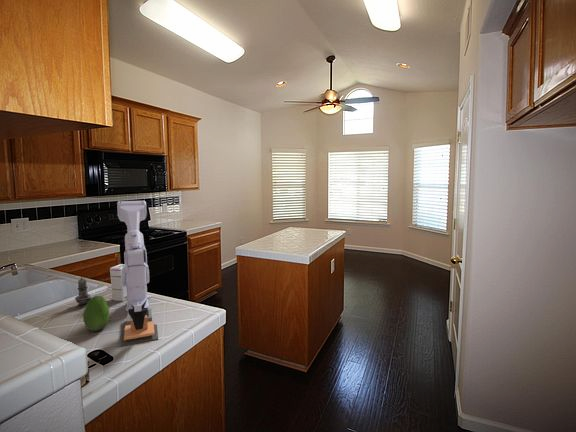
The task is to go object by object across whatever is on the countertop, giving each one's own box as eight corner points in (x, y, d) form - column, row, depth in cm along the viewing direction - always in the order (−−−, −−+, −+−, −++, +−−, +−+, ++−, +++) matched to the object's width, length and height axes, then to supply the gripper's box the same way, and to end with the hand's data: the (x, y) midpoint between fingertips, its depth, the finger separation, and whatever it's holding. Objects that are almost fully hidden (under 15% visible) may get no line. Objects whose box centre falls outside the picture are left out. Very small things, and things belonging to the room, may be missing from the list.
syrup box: (123, 301, 136) (121, 268, 134) (111, 300, 137) (109, 267, 136) (132, 296, 142) (131, 264, 140) (121, 295, 143) (119, 263, 141)
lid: (125, 330, 110) (124, 314, 110) (153, 325, 114) (153, 310, 113) (124, 343, 102) (123, 326, 102) (154, 337, 106) (154, 320, 105)
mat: (122, 331, 111) (122, 329, 111) (156, 325, 115) (156, 324, 115) (120, 346, 101) (120, 345, 101) (158, 339, 106) (158, 338, 105)
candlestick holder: (81, 302, 135) (79, 274, 134) (95, 302, 135) (93, 274, 133) (72, 308, 129) (69, 279, 128) (86, 308, 129) (84, 279, 128)
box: (128, 320, 119) (127, 312, 119) (151, 316, 123) (151, 308, 122) (127, 329, 112) (126, 321, 112) (152, 325, 115) (151, 317, 115)
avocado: (115, 324, 115) (113, 292, 114) (99, 335, 108) (97, 301, 106) (95, 323, 117) (92, 291, 115) (78, 333, 109) (75, 299, 107)
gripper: (150, 290, 101) (152, 331, 103) (149, 276, 114) (151, 313, 116) (125, 293, 98) (128, 335, 100) (127, 279, 111) (129, 316, 113)
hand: (139, 323), depth 108 cm, fingers open, 7 cm apart
